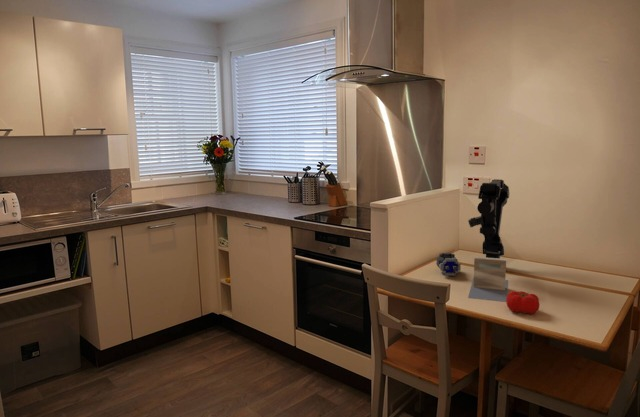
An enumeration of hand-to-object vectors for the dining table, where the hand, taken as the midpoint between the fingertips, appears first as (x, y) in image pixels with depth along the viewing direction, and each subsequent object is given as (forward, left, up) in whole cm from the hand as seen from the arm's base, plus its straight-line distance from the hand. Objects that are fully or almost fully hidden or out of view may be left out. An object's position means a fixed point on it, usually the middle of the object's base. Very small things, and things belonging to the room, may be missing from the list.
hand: (487, 245), depth 209 cm
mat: (+17, +14, -13) cm, 26 cm away
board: (+16, +13, -13) cm, 24 cm away
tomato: (+27, +36, -13) cm, 47 cm away
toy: (+14, -10, -13) cm, 22 cm away
